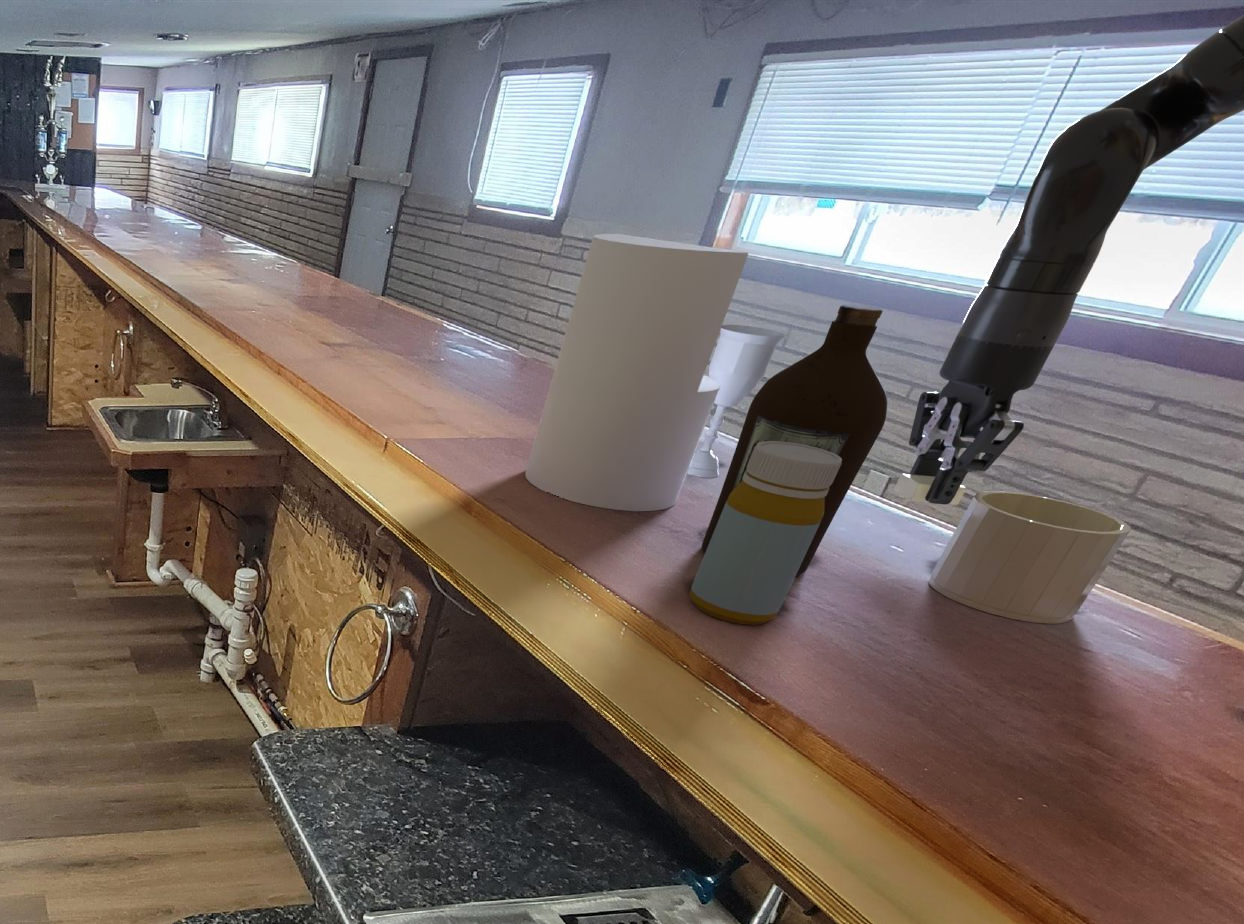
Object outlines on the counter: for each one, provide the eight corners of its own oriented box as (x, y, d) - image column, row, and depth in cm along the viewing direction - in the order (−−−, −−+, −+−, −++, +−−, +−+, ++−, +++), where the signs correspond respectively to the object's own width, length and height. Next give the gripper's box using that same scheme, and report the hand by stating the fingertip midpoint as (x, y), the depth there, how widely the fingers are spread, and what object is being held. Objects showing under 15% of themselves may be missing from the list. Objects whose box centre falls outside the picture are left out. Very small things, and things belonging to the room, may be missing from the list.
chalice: (741, 479, 118) (800, 336, 109) (697, 481, 116) (753, 336, 107) (697, 461, 124) (750, 324, 115) (655, 463, 123) (705, 324, 114)
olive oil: (712, 531, 101) (809, 294, 89) (824, 562, 94) (945, 311, 82) (679, 555, 95) (778, 303, 82) (796, 590, 88) (923, 322, 76)
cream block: (938, 494, 102) (947, 477, 101) (958, 505, 99) (967, 487, 98) (892, 490, 103) (901, 473, 102) (910, 500, 100) (919, 483, 99)
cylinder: (593, 516, 104) (682, 252, 90) (495, 467, 118) (559, 232, 104) (710, 505, 108) (812, 253, 94) (602, 460, 123) (677, 234, 109)
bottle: (767, 602, 85) (838, 447, 78) (780, 634, 80) (858, 470, 72) (683, 586, 88) (744, 435, 80) (690, 616, 82) (757, 456, 75)
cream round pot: (1024, 581, 92) (1075, 498, 88) (1102, 630, 83) (1163, 540, 79) (905, 568, 94) (949, 485, 90) (969, 614, 85) (1021, 525, 80)
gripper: (1100, 352, 86) (1005, 522, 94) (1003, 326, 98) (927, 479, 106) (1009, 346, 87) (923, 515, 95) (925, 321, 99) (855, 473, 107)
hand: (925, 495), depth 101 cm, fingers closed on cream block, 3 cm apart
